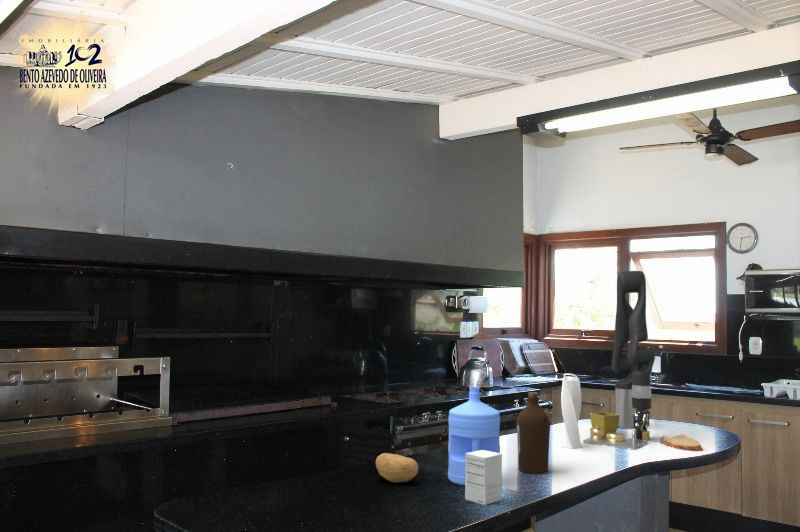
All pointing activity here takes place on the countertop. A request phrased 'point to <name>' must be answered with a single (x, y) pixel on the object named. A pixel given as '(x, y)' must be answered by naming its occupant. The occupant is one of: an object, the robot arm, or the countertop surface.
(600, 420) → the flower pot
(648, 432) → the gold octagonal ring
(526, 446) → the olive oil
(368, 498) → the countertop surface
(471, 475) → the supplement box
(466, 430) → the water jug
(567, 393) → the skyscraper
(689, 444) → the slice of bread
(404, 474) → the potato
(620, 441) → the carrier
